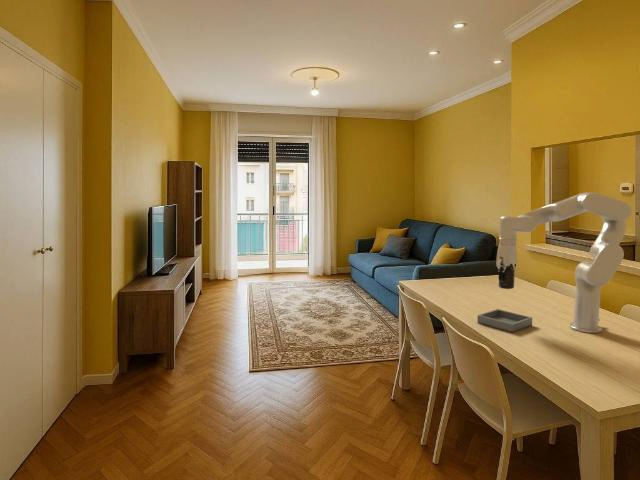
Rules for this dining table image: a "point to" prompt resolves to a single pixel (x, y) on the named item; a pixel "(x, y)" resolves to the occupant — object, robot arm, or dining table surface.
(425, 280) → the dining table surface
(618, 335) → the dining table surface
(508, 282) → the supplement bottle
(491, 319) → the tray
